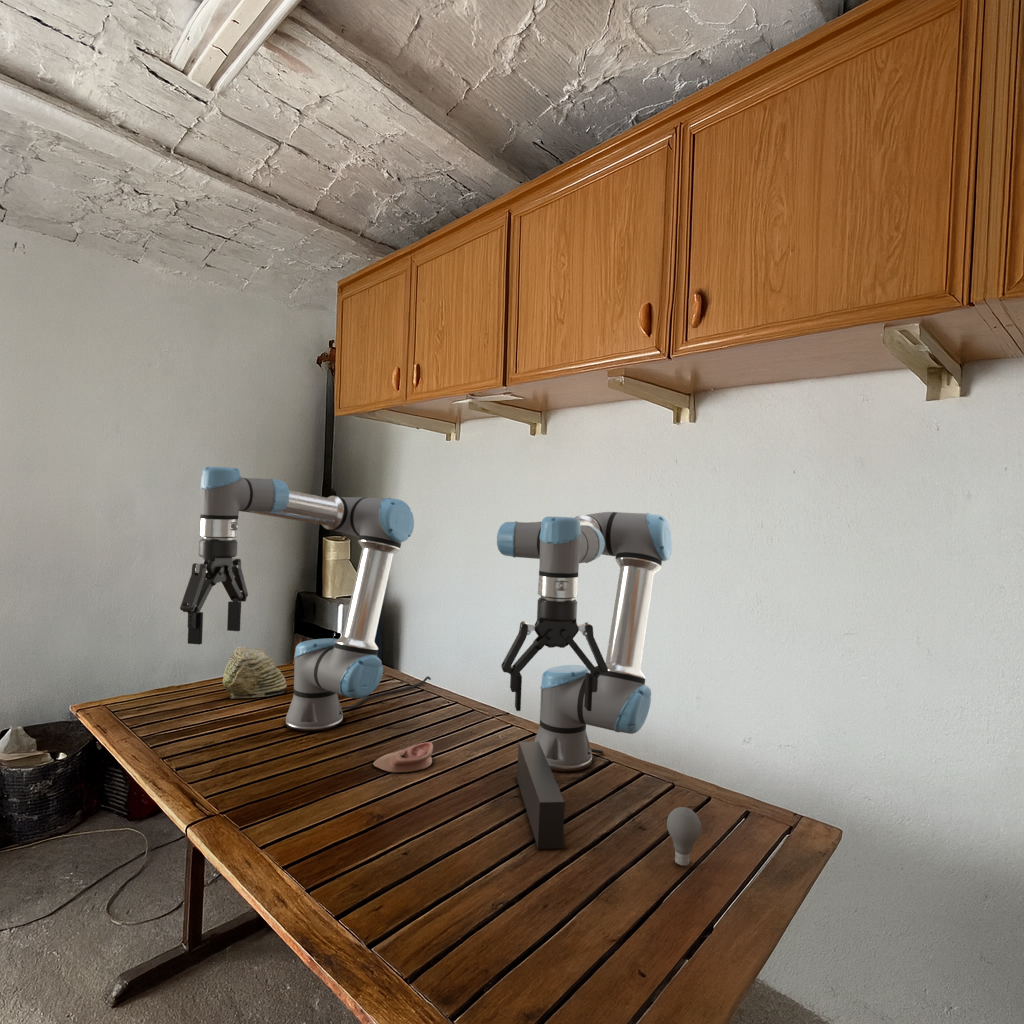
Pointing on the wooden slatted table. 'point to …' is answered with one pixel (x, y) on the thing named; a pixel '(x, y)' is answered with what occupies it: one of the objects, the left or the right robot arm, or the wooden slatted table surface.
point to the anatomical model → (407, 759)
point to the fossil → (252, 674)
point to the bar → (540, 796)
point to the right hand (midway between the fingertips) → (552, 708)
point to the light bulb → (683, 832)
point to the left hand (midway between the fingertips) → (215, 637)
